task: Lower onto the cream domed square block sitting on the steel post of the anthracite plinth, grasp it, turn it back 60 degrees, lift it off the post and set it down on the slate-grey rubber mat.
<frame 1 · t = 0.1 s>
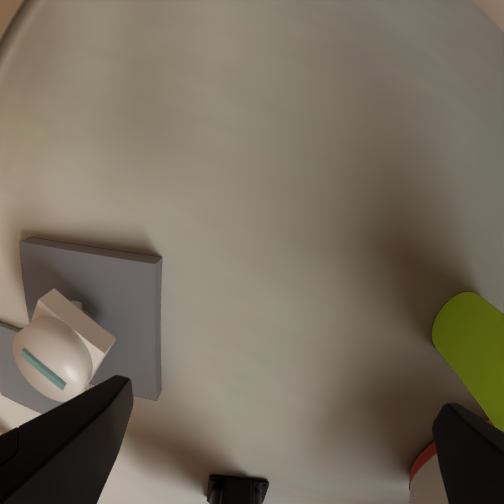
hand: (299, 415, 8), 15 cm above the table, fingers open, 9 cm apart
mat: (24, 370, 26), on the table
citrus juicer: (452, 452, 28), on the table
plinth: (91, 317, 24), on the table
soap dispenser: (454, 326, 23), on the table
cream domed square block: (71, 338, 20), point 3 cm above the table, touching plinth
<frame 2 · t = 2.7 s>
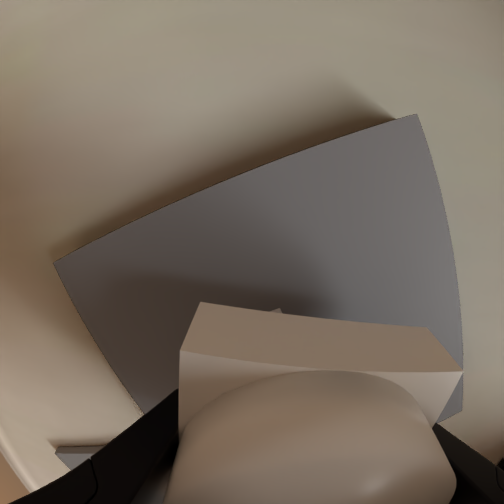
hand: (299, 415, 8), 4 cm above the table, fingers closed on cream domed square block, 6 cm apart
mat: (176, 498, 15), on the table
plinth: (289, 341, 11), on the table
cream domed square block: (298, 407, 8), point 3 cm above the table, touching gripper, plinth
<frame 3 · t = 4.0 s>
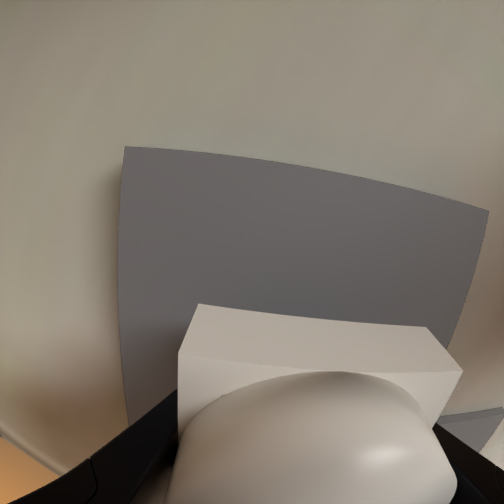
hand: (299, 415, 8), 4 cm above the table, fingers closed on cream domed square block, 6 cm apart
mat: (397, 477, 15), on the table
plinth: (289, 333, 12), on the table
cream domed square block: (298, 408, 8), point 4 cm above the table, touching gripper
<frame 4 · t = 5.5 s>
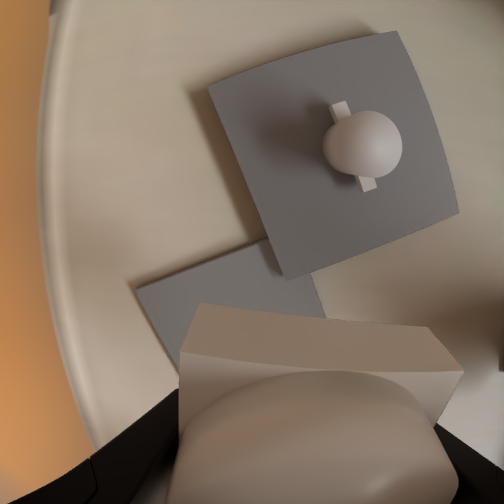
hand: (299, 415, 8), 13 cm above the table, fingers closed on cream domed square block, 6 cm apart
mat: (243, 332, 22), on the table
plinth: (342, 148, 18), on the table
cream domed square block: (298, 408, 8), point 13 cm above the table, touching gripper
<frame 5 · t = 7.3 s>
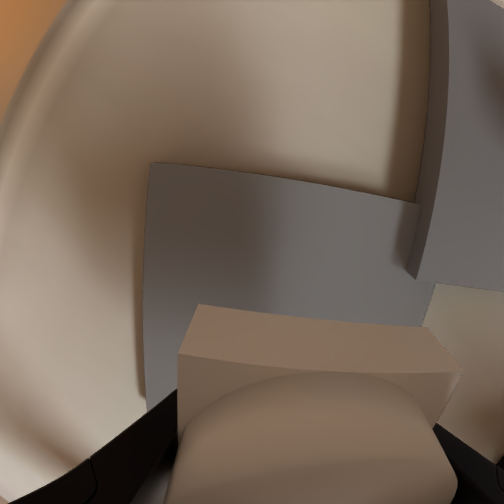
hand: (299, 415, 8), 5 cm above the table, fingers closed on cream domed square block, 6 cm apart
mat: (286, 325, 12), on the table
cream domed square block: (298, 409, 8), point 5 cm above the table, touching gripper
when the fingers open (3 cm above the table, at t = 8.7 s): cream domed square block drops 2 cm, resting on mat.
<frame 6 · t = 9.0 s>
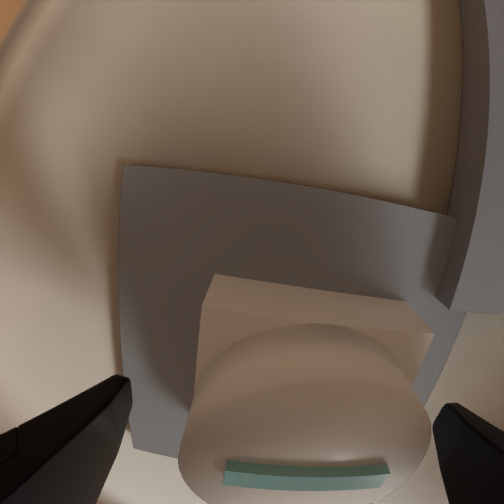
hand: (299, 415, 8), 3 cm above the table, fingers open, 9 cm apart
mat: (291, 361, 10), on the table
cream domed square block: (295, 371, 10), point 1 cm above the table, touching mat
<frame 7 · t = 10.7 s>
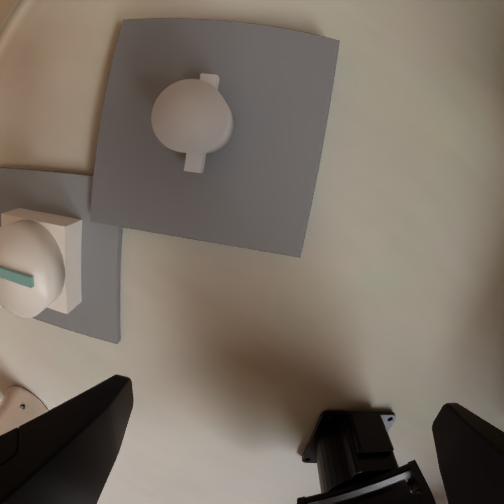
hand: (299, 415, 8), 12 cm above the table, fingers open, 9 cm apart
mat: (52, 251, 19), on the table
plinth: (209, 127, 17), on the table
cream domed square block: (48, 254, 19), point 1 cm above the table, touching mat
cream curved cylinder: (31, 407, 24), on the table
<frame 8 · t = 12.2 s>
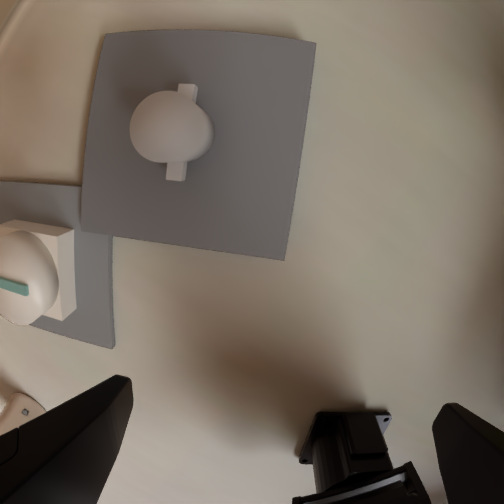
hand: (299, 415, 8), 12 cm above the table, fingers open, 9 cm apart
mat: (47, 261, 20), on the table
plinth: (192, 135, 17), on the table
cream domed square block: (43, 263, 19), point 1 cm above the table, touching mat
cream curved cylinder: (33, 413, 25), on the table
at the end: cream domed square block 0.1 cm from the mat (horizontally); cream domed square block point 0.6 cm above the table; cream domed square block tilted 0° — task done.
